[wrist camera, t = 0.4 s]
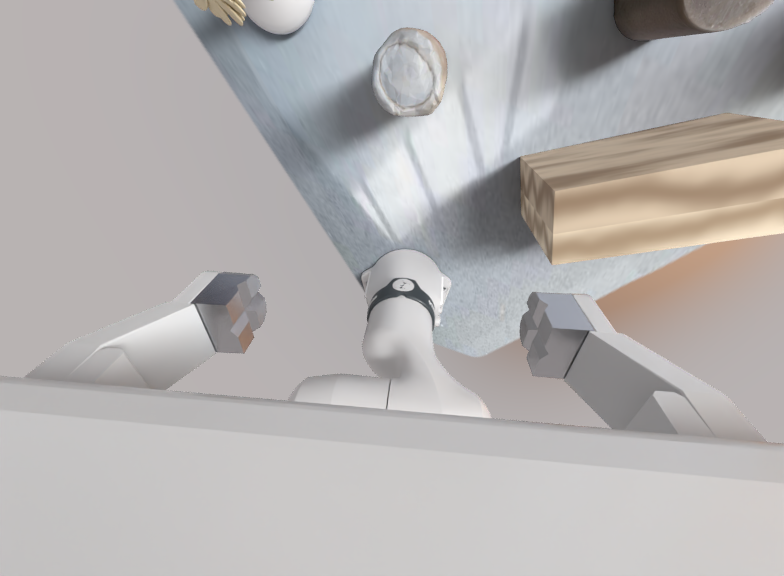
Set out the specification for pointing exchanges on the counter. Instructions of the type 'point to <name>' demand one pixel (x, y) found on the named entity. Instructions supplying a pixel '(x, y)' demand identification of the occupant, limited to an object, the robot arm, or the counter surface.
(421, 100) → the paper wrapped package
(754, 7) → the pillar candle
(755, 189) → the wooden holder box
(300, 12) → the flower in vase
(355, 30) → the counter surface
